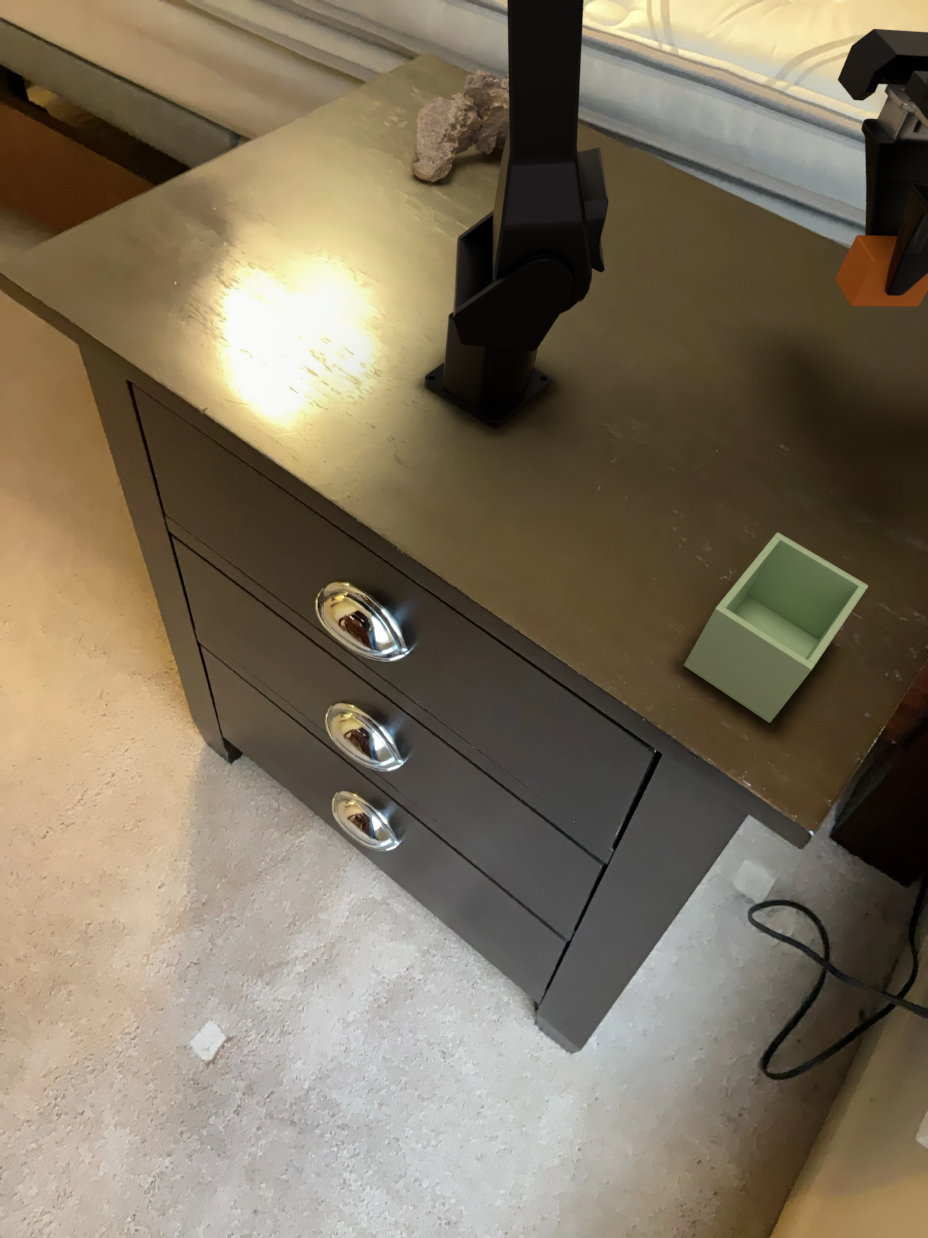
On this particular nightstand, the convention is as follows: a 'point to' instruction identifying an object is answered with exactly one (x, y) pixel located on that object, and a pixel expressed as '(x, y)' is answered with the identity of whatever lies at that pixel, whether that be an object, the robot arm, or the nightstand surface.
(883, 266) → the orange block
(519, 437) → the nightstand surface
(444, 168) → the rock
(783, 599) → the trash bin
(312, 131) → the nightstand surface
